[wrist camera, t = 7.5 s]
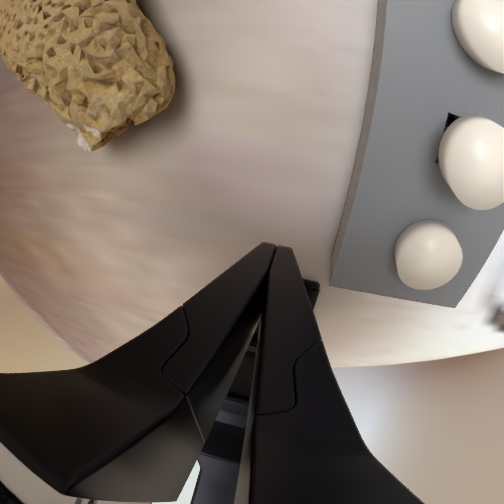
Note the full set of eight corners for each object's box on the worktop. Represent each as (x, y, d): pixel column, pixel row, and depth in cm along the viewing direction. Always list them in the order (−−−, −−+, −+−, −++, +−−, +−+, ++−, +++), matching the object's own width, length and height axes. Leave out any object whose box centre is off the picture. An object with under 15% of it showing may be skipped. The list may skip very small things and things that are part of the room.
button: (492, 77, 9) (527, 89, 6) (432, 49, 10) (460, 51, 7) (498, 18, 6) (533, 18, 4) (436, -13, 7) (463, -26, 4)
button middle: (474, 183, 13) (501, 219, 10) (416, 163, 14) (436, 197, 11) (494, 119, 10) (531, 143, 7) (433, 92, 11) (463, 108, 8)
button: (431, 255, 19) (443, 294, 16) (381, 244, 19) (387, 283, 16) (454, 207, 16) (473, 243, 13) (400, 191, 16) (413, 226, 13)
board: (449, 282, 20) (457, 308, 18) (330, 258, 22) (328, 285, 20) (531, 12, 5) (556, 13, 2) (378, -61, 6) (386, -79, 4)
